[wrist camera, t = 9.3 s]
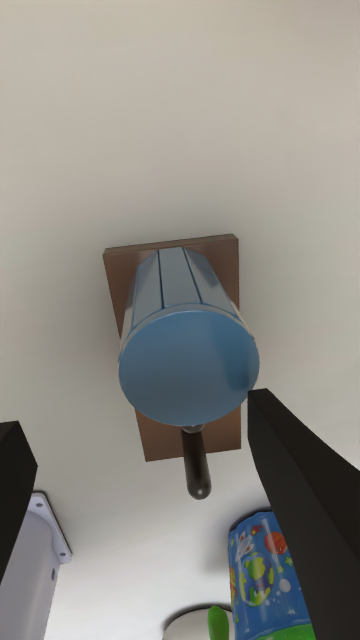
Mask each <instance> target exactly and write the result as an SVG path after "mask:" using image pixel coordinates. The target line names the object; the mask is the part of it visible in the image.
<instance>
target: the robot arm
mask: <svg viewBox="0 0 360 640" xmlns="http://www.w3.org/2000/svg"><path fill="white" fill-rule="evenodd" d="M248 441H249V445H250V448H251V452H252V456H253V459H254V463H255V466H256V469H257V472H258V475H259V477H260V480H261V482H262V485H263V487H264V490H265V492H266V495H267V497H268V500H269V502H270V505H271V507H272V510H273V512H274V515H275V517H276V520H277V522H278V525H279V527H280V530H281V532H282V535H283V537H284V540H285V542H286V545H287V548H288V550H289V553H290V556H291V559H292V562H293V565H294V568H295V571H296V575H297V578H298V581H299V584H300V588H301V591H302V594H303V597H304V601H305V604H306V607H307V611H308V614H309V618H310V621H311V624H312V628H313V631H314V634H315V638H316V640H360V471H359V470H358V469H356V468H355V467H354V466H353V465H351V464H350V463H349V462H347V461H346V460H345V459H344V458H343V457H341V456H340V455H339V454H338V453H336V452H335V451H334V450H333V449H332V448H330V447H329V446H328V445H327V444H326V443H324V442H323V441H322V440H321V439H320V438H319V437H318V436H317V435H315V434H314V433H313V432H312V431H311V430H310V429H309V428H308V427H306V426H305V425H304V424H303V423H302V422H301V421H300V420H299V419H298V418H297V417H296V416H295V415H294V414H293V413H292V412H291V411H290V410H288V409H287V408H286V407H285V406H284V405H283V404H282V403H281V402H280V401H279V400H278V399H277V398H276V397H275V396H274V395H273V393H272V392H271V391H269V390H268V389H267V388H265V389H257V390H249V391H248ZM37 467H38V465H37V463H36V460H35V458H34V456H33V453H32V451H31V449H30V446H29V444H28V442H27V439H26V437H25V435H24V432H23V430H22V428H21V425H20V423H19V421H11V422H3V423H0V640H44V636H45V631H46V627H47V622H48V618H49V613H50V608H51V604H52V599H53V595H54V590H55V586H56V581H57V577H58V572H59V567H60V564H64V563H69V562H70V561H71V559H72V555H71V553H70V550H69V548H68V546H67V544H66V541H65V539H64V537H63V535H62V533H61V530H60V528H59V526H58V524H57V521H56V519H55V517H54V515H53V513H52V510H51V508H50V506H49V504H48V502H47V499H46V497H45V495H44V494H42V493H32V491H33V487H34V482H35V477H36V472H37Z"/></svg>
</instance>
